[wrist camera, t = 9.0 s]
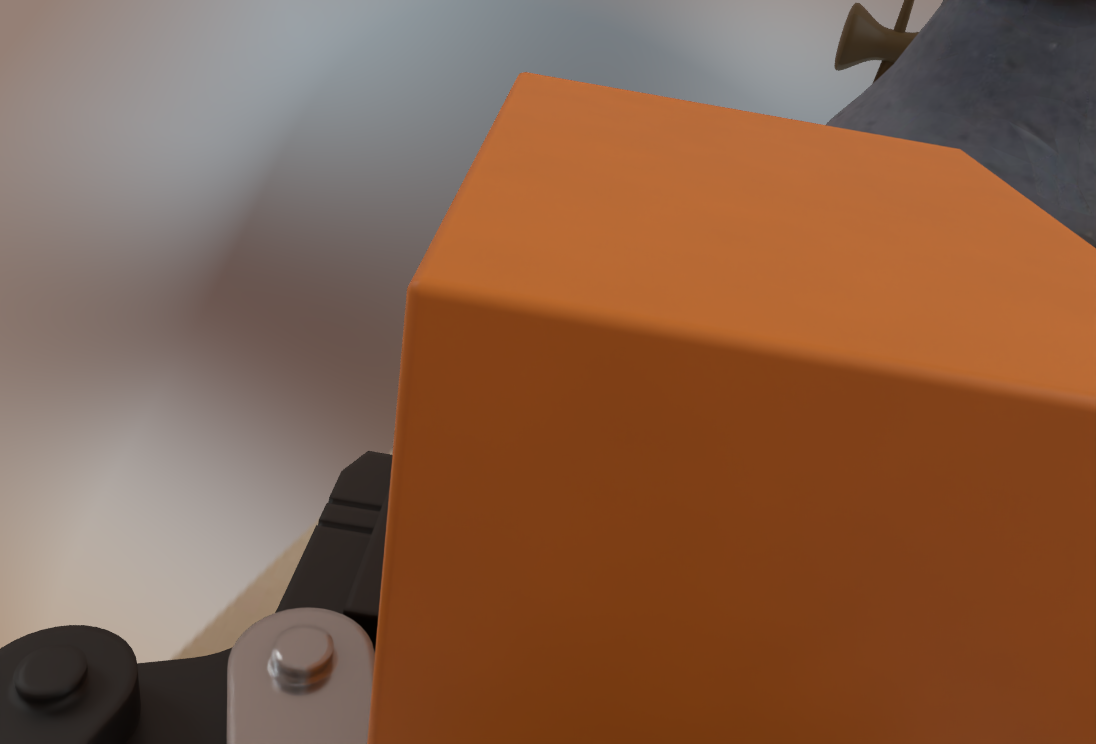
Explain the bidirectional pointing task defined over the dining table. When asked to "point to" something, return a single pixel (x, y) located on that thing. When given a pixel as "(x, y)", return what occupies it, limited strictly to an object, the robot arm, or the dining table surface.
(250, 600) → the dining table surface
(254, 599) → the dining table surface
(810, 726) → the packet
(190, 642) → the dining table surface
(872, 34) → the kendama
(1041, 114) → the dark grey clay pot
